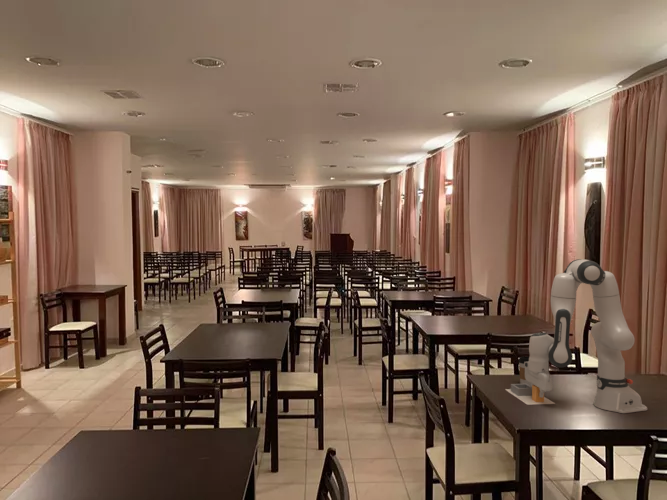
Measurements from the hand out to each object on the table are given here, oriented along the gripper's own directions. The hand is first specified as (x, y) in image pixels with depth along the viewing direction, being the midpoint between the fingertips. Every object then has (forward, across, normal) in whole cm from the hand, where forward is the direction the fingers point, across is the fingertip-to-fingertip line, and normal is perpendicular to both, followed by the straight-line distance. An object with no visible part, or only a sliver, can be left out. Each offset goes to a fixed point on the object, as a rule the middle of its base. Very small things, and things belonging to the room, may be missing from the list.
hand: (538, 395), depth 251 cm
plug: (+3, 0, 0) cm, 3 cm away
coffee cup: (+4, +28, -8) cm, 29 cm away
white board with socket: (+4, +7, +1) cm, 8 cm away
